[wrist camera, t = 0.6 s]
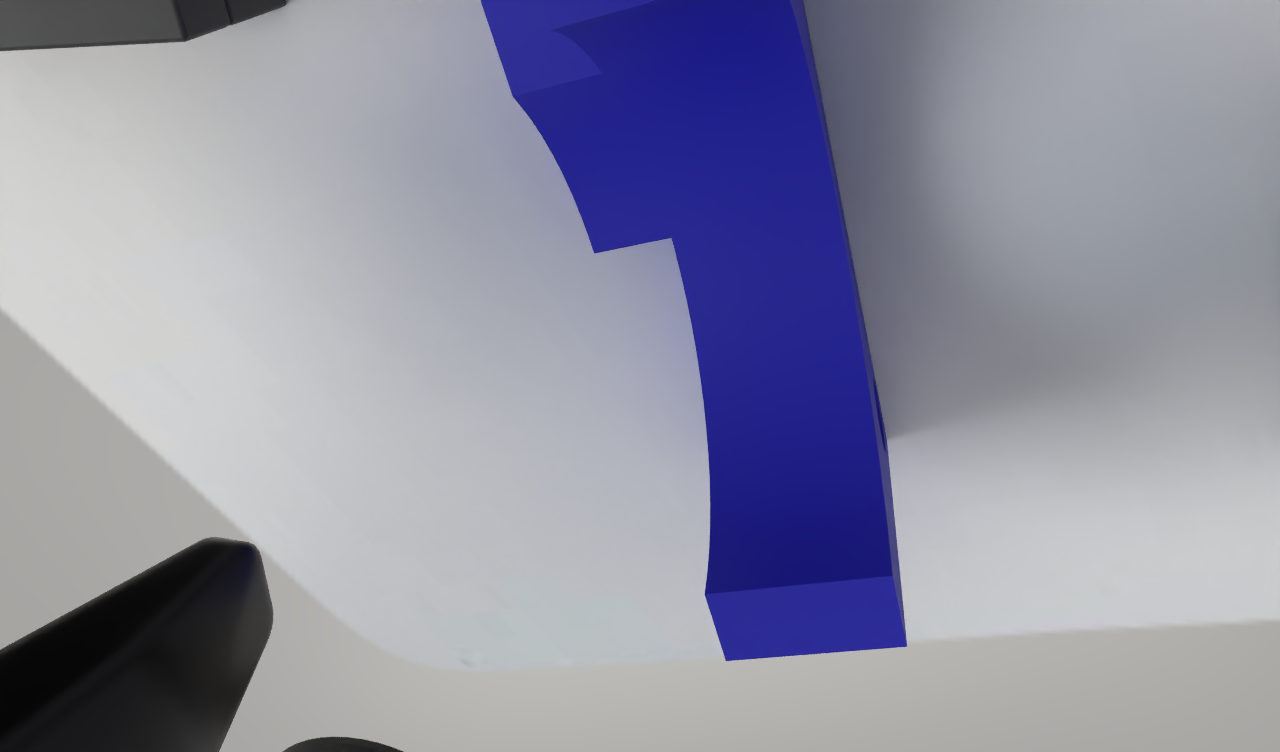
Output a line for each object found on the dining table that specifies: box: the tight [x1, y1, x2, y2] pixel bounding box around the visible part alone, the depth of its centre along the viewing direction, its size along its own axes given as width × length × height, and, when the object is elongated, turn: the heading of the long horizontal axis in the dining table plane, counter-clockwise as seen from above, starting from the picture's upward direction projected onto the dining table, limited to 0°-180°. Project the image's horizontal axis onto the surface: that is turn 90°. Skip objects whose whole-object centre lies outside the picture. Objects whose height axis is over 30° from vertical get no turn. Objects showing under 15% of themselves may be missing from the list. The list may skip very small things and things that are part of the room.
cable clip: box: [481, 0, 907, 661], centre depth 16 cm, size 12×4×6 cm, turn 16°
